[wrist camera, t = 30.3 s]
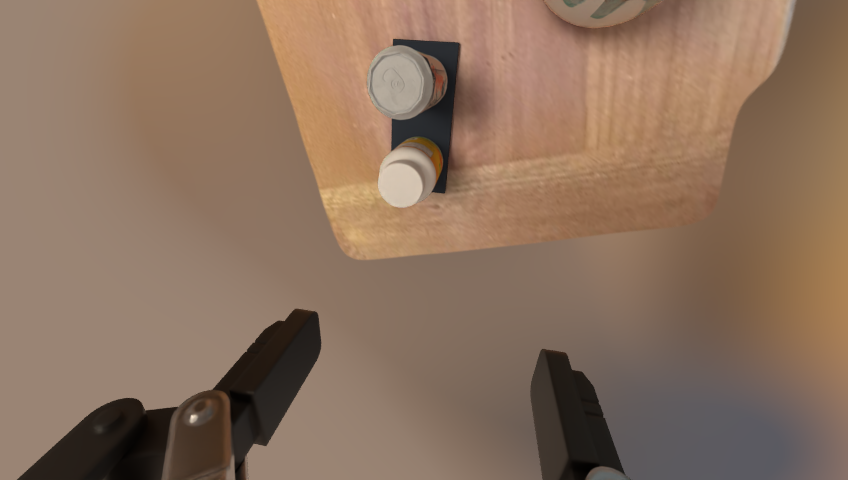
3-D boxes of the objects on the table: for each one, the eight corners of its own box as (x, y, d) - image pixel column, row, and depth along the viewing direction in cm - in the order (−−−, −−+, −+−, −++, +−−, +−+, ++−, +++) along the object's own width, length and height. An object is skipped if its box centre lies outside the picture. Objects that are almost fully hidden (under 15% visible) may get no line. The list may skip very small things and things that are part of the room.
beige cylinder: (424, 117, 35) (397, 135, 24) (391, 82, 34) (348, 84, 23) (457, 82, 33) (445, 84, 22) (424, 43, 32) (394, 25, 21)
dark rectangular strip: (394, 39, 32) (393, 38, 32) (459, 43, 32) (458, 42, 31) (391, 186, 39) (390, 187, 39) (445, 192, 38) (444, 193, 38)
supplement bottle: (431, 192, 38) (416, 225, 29) (389, 171, 38) (361, 199, 29) (451, 149, 36) (441, 172, 27) (406, 127, 35) (382, 143, 27)
